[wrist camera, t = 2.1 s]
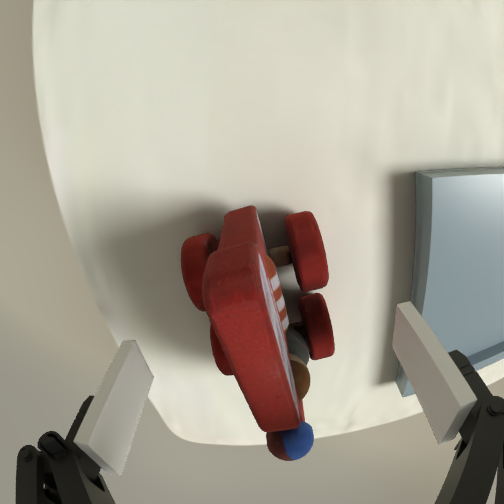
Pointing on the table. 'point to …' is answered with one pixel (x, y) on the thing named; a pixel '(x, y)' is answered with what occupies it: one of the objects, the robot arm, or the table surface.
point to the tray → (460, 262)
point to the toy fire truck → (263, 318)
